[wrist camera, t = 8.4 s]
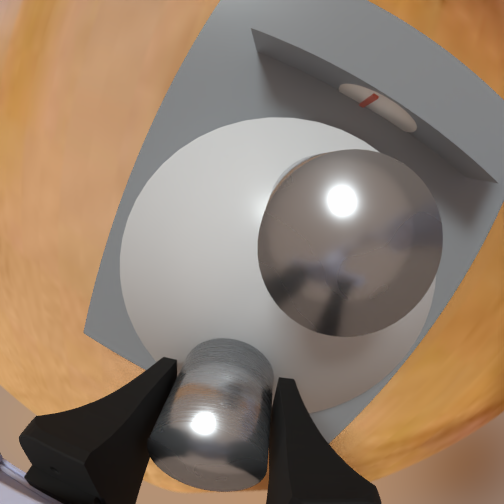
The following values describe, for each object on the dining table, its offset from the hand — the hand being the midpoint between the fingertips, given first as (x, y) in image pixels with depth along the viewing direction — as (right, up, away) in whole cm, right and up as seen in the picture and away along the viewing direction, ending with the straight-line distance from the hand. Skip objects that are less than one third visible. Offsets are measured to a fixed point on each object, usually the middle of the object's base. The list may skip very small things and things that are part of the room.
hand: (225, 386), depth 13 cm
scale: (+3, +6, +1) cm, 7 cm away
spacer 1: (0, 0, +1) cm, 1 cm away
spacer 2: (+4, +7, -2) cm, 8 cm away
